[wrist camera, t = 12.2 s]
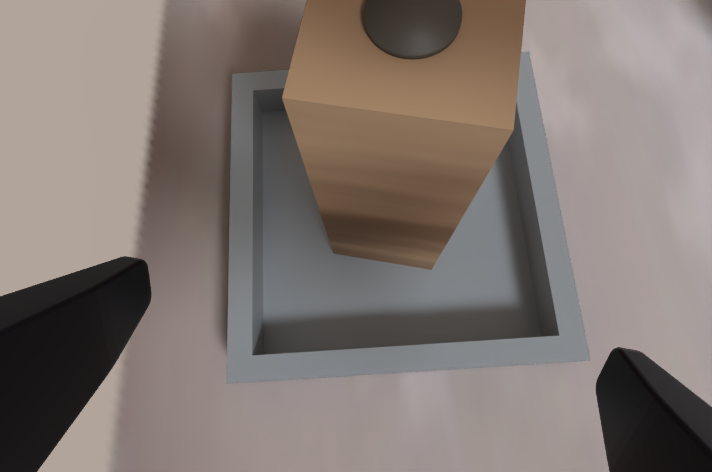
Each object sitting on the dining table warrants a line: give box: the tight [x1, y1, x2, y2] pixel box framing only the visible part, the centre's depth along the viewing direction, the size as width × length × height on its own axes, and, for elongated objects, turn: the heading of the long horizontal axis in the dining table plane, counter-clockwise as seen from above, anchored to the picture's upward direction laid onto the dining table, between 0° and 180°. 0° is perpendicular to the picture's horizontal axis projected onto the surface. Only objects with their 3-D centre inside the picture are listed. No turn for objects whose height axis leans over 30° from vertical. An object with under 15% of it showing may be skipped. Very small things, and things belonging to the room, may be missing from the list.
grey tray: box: [226, 52, 591, 384], centre depth 21 cm, size 14×14×2 cm
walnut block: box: [282, 0, 526, 270], centre depth 15 cm, size 4×4×13 cm
